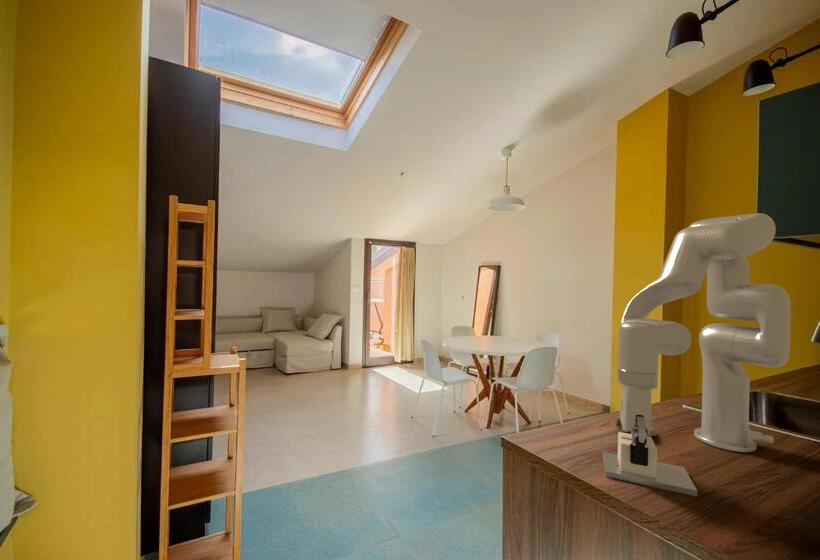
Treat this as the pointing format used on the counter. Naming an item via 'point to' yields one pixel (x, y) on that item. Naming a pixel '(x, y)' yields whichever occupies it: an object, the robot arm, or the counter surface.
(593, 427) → the counter surface
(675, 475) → the plate
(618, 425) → the rock
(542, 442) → the counter surface
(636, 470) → the orange-striped white cube
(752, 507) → the counter surface
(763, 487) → the counter surface
